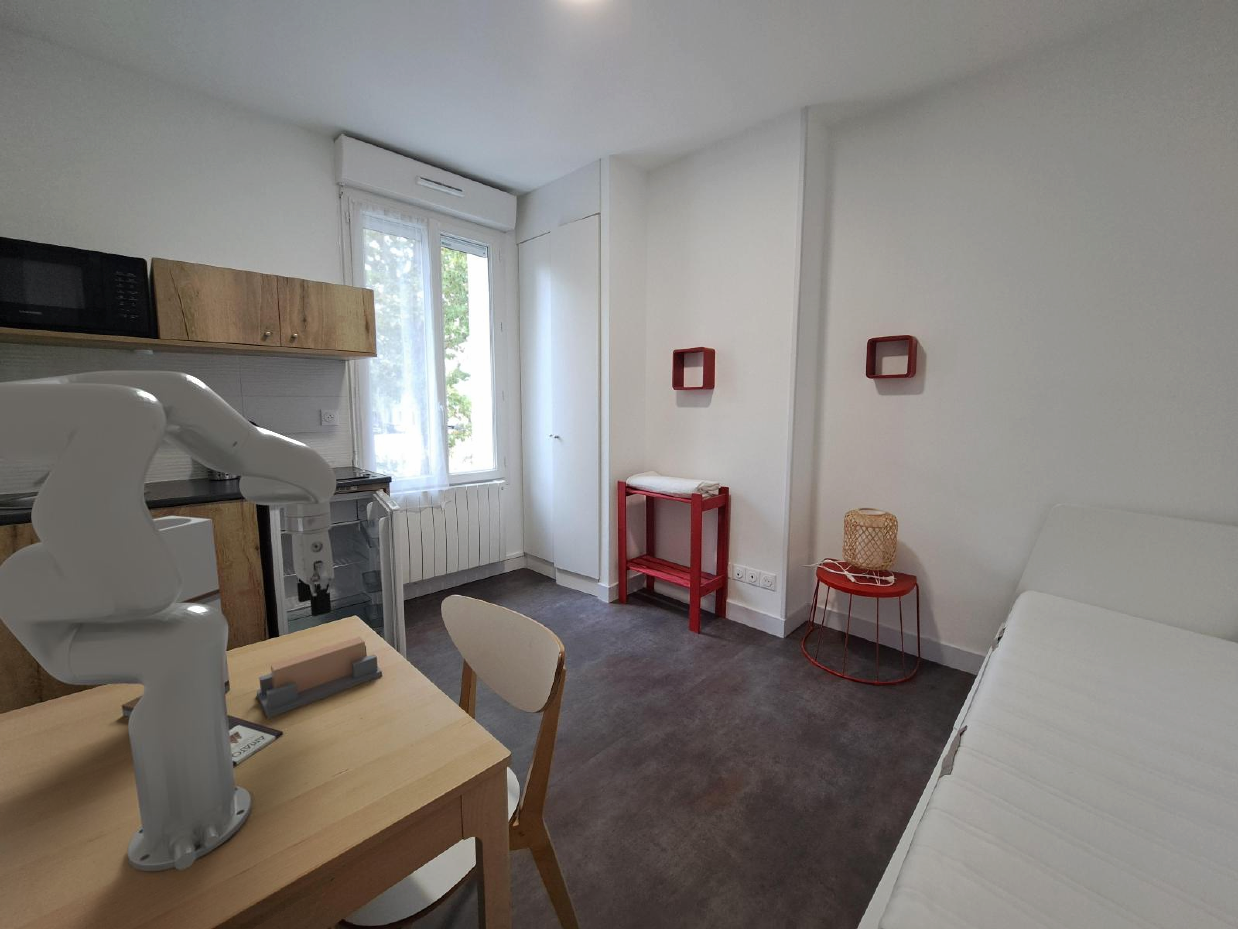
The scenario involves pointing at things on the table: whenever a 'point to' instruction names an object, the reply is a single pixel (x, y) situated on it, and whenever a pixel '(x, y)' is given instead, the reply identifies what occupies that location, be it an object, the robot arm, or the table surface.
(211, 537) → the white open storage bin
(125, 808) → the table surface
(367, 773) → the table surface
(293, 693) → the grey slotted stand
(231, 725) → the chocolate bar
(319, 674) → the clay bar
